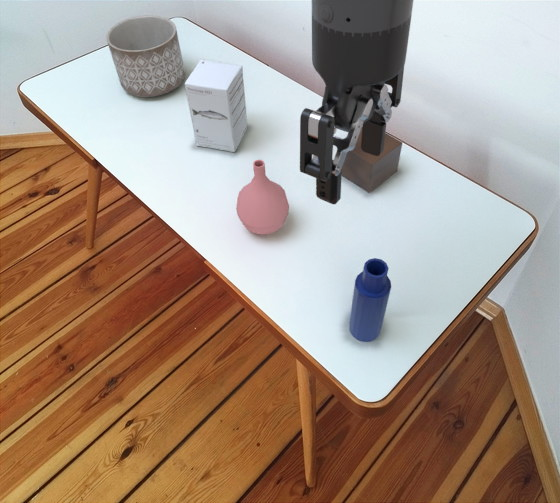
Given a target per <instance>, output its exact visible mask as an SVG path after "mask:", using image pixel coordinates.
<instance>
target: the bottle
mask: <svg viewBox="0 0 560 503" xmlns="http://www.w3.org/2000/svg"><path fill="white" fill-rule="evenodd" d="M388 273H389V265H388V264H387V262H386V261H384V260H383V259H382V258H377V257H373V258H369V259H368V260H366V261H365V262H364V264H363V268H362V271H361V272H360V273H359V274H357V276H356V278H355V279H354V286H353V294H352V300H351V301H352V302H351V308H350V316H349V322H348V329H349V333H350V334H351V336H352V337H353V338H354V339H355V340H357V341H359V342H362V343H370V342H373V341H375V340H376V339H377V338H379V336H380V334H381V331H382V328H383V324H384V319H385V315H386V311H387V307H388V303H389V298H390V295H391V290H392V281H391V279H390V278H389V276H388Z"/></svg>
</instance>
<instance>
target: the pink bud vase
mask: <svg viewBox="0 0 560 503" xmlns="http://www.w3.org/2000/svg"><path fill="white" fill-rule="evenodd" d="M265 164H266V163H265V161H264V160H263V159H256V160H254V161H253V163H252V166H253V178H252V179H251V181H250V182H249V183H248V184H245V185H244V186H243V187H242V188H241V189H240V190H239V191H238V195H237V200H236V207H235V209H236V215H237V217H238V219H239V221H240V222H241V223H242V225H243V226H244V228H245V230H247V231H249V232H251V233H253V234H257V235H269V234H273V233H275V232H277V231H278V230H280V229H281V228H282V227H283V225H284V224H285V223H286V220H287V217H288V215H289V210H290V204H289V200H288V198H287V193H286V190H285V189H284V188H283V187H282V186H281V185H280V184H279V183H277V182H275V181H272V180H270V179H269V177H268V176H267V175H266V165H265Z"/></svg>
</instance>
